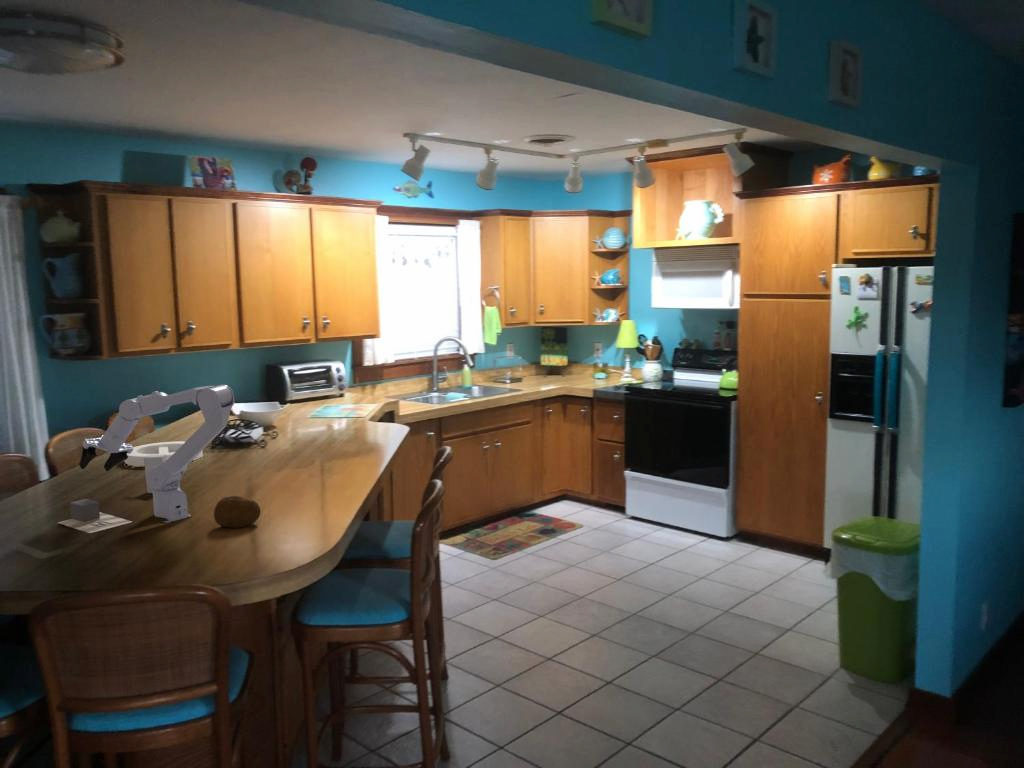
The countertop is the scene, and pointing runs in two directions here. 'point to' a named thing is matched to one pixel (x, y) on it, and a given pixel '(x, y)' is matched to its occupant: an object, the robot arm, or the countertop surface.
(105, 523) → the board
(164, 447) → the white flat ring
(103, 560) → the countertop surface
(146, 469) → the skincare box
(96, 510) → the block
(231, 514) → the potato
